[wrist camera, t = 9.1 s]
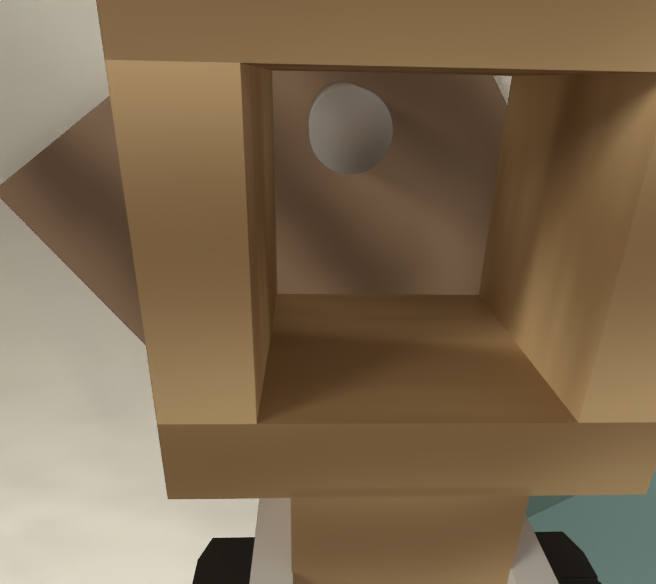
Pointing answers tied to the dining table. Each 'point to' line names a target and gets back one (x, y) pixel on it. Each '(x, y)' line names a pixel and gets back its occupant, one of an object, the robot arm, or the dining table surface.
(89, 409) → the dining table surface
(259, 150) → the wooden square socket bar
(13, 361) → the dining table surface
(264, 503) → the robot arm
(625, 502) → the block
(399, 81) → the pintle board
